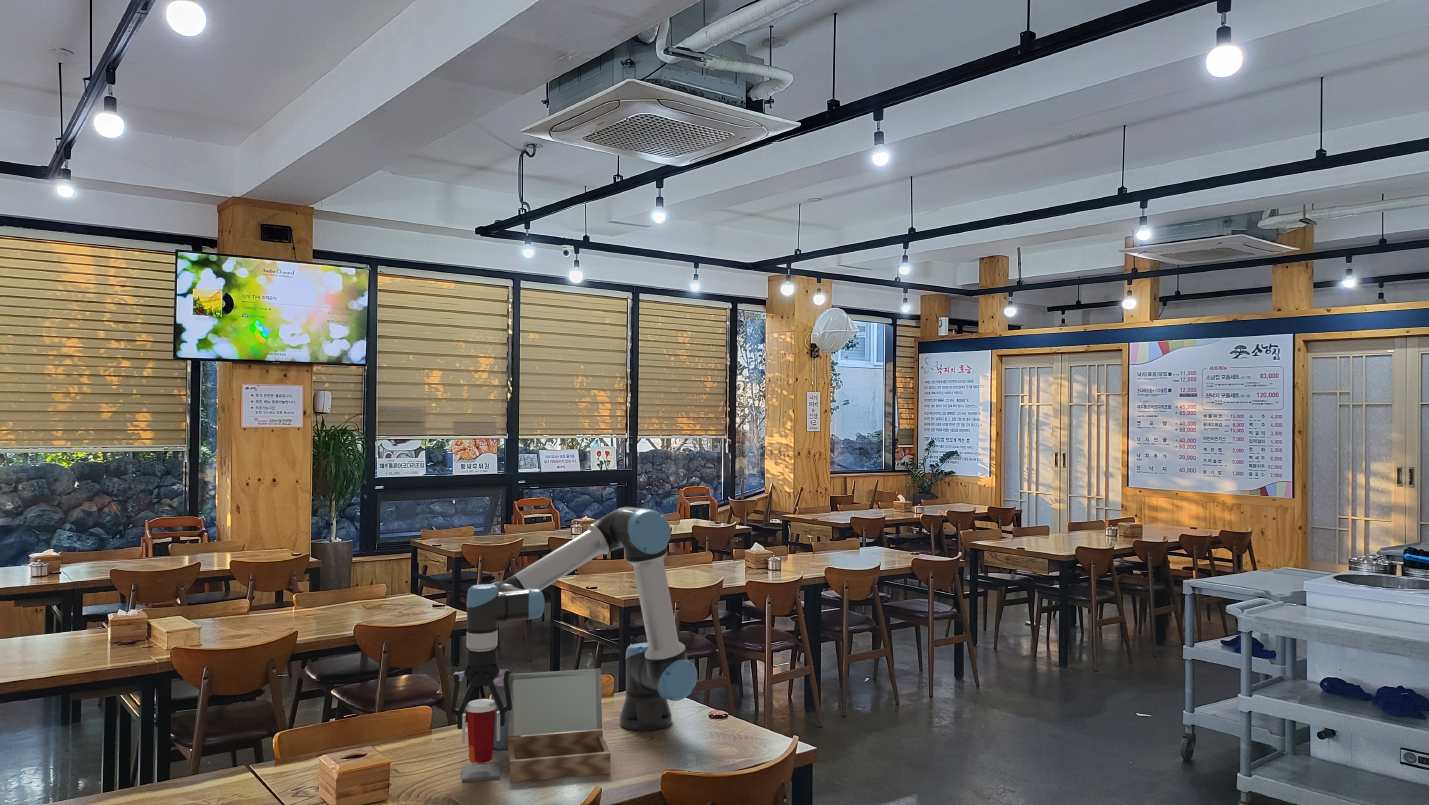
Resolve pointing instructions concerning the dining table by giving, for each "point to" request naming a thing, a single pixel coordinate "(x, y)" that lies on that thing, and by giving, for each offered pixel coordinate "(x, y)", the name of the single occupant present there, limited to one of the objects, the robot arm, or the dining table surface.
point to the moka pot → (503, 729)
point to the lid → (555, 702)
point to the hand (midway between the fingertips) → (481, 740)
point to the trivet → (480, 772)
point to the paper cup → (481, 729)
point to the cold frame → (557, 756)
